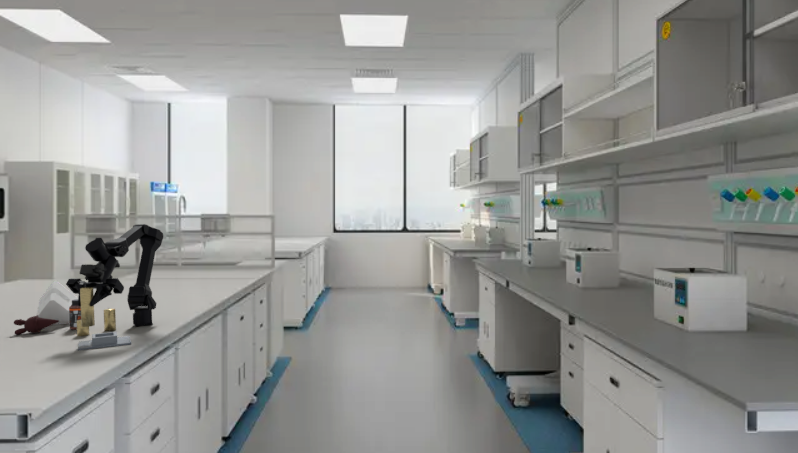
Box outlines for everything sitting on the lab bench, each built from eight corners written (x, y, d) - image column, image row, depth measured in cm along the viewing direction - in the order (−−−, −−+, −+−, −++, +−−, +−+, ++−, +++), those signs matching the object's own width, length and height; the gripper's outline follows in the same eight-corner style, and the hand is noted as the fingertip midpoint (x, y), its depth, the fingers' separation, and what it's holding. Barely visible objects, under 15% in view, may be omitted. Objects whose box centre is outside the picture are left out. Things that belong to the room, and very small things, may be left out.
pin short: (89, 333, 218) (88, 318, 218) (89, 335, 215) (88, 320, 214) (77, 334, 216) (76, 319, 216) (76, 336, 213) (76, 321, 213)
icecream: (60, 312, 228) (16, 319, 223) (56, 310, 221) (10, 317, 216) (62, 330, 227) (17, 337, 221) (57, 329, 220) (11, 336, 215)
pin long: (92, 324, 203) (91, 286, 202) (96, 325, 200) (94, 287, 199) (80, 325, 200) (78, 288, 200) (83, 327, 197) (81, 289, 197)
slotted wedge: (39, 333, 238) (31, 301, 227) (42, 313, 246) (35, 282, 235) (77, 329, 243) (71, 298, 232) (79, 310, 251) (74, 280, 240)
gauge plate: (129, 337, 209) (129, 329, 209) (131, 344, 198) (130, 335, 198) (78, 343, 202) (78, 334, 202) (77, 350, 191) (77, 341, 191)
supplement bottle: (79, 330, 224) (78, 301, 224) (66, 329, 226) (64, 300, 225) (90, 327, 230) (89, 298, 230) (77, 326, 231) (76, 298, 231)
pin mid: (115, 328, 226) (115, 308, 226) (116, 330, 222) (115, 309, 222) (104, 329, 224) (103, 309, 224) (104, 331, 220) (103, 310, 220)
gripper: (68, 255, 204) (46, 291, 194) (117, 255, 202) (98, 291, 191) (84, 275, 212) (64, 310, 202) (131, 275, 210) (114, 311, 199)
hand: (84, 305), depth 198 cm, fingers closed on pin long, 4 cm apart
